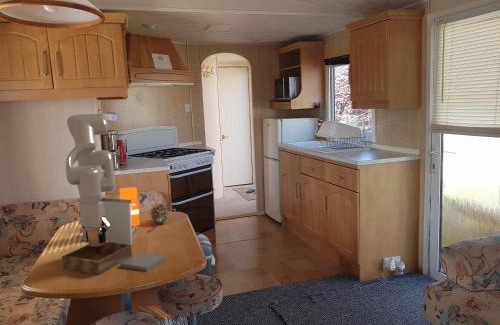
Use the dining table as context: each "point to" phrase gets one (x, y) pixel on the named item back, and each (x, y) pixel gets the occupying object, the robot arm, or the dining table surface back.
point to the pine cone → (159, 213)
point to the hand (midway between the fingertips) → (96, 240)
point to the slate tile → (143, 261)
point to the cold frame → (116, 256)
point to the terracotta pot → (93, 236)
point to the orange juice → (131, 195)
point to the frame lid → (118, 220)
